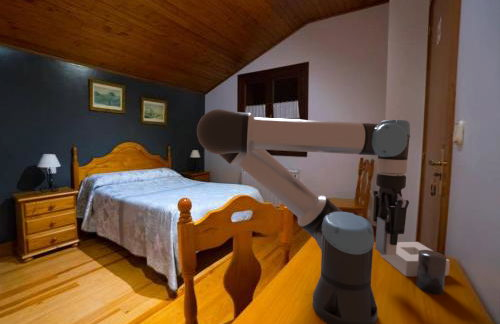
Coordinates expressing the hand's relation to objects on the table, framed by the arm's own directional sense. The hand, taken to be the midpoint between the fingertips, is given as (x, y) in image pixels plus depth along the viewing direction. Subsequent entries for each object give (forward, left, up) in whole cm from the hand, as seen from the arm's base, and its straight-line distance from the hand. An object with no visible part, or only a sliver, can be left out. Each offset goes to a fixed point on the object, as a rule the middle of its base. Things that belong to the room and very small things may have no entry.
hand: (385, 250), depth 74 cm
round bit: (+11, -4, -10) cm, 15 cm away
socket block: (+15, +9, -10) cm, 20 cm away
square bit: (0, 0, 0) cm, 0 cm away
